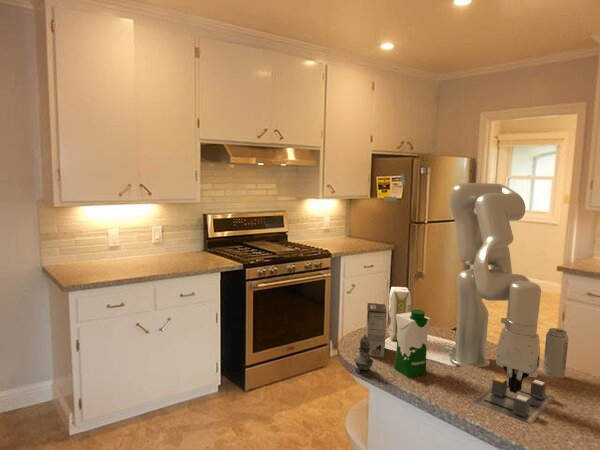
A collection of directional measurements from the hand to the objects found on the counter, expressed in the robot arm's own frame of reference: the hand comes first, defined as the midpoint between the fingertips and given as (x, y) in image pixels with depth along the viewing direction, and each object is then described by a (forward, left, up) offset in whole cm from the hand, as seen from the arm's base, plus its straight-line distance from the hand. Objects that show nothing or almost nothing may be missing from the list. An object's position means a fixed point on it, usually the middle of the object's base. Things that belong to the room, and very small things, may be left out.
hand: (514, 390), depth 124 cm
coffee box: (-47, +1, -4) cm, 47 cm away
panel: (0, -1, -3) cm, 3 cm away
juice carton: (-49, +19, -4) cm, 53 cm away
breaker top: (+4, +6, -2) cm, 8 cm away
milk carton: (-30, -4, -4) cm, 31 cm away
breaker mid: (-4, -1, -2) cm, 4 cm away
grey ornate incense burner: (-40, -15, -4) cm, 43 cm away
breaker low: (+4, -7, -2) cm, 9 cm away
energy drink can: (+3, +26, -4) cm, 27 cm away
